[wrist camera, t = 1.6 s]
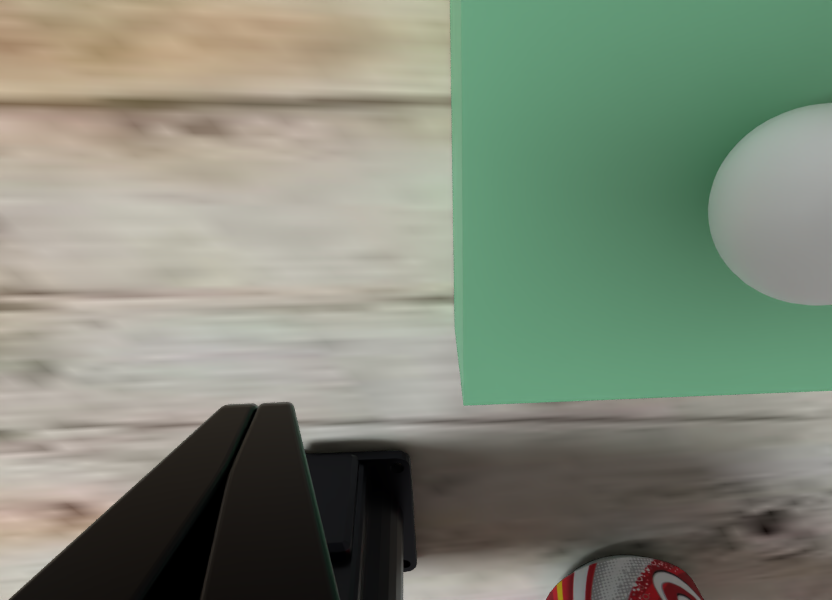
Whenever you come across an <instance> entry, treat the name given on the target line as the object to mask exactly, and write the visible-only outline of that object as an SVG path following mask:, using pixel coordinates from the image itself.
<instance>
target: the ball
mask: <svg viewBox="0 0 832 600" xmlns="http://www.w3.org/2000/svg"><path fill="white" fill-rule="evenodd" d="M708 220H709V227H710V233H711V236H712V239H713V242H714V244H715V247H716V249H717V251H718V253H719V255H720V256H721V258H722V259H723V261H724V262H725V264H726V265H727V266H728V267H729V269H730V270H731V271H732V272H733V273H734V274H735V275H736V276H738V277H739V278H740V279H741V280H742V281H743V282H744V283H746V284H747V285H749V286H750V287H752V288H754V289H755V290H757V291H759V292H760V293H762V294H765V295H767V296H769V297H772V298H775V299H778V300H781V301H785V302H789V303H795V304H802V305H815V306H821V305H832V103H824V104H815V105H808V106H804V107H800V108H796V109H793V110H790V111H787V112H785V113H782V114H780V115H778V116H776V117H773V118H771V119H769V120H767V121H766V122H764V123H762V124H761V125H759V126H757V127H756V128H755V129H753V130H752V131H751V132H749V133H748V134H747V135H746V136H745V137H744V138H742V139H741V140H740V141H739V142H738V143H737V144H736V145H735V147H734V148H733V149H732V150H731V151H730V152H729V154H728V155H727V157H726V158H725V159H724V161H723V162H722V164H721V166H720V168H719V170H718V172H717V174H716V176H715V179H714V181H713V184H712V188H711V192H710V196H709V203H708Z"/></svg>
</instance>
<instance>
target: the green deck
mask: <svg viewBox="0 0 832 600" xmlns="http://www.w3.org/2000/svg"><path fill="white" fill-rule="evenodd" d="M450 37H451V107H452V177H453V247H454V317H455V335H456V344H457V352H458V361H459V370H460V378H461V387H462V396H463V404H464V406H465V405H490V404H514V403H539V402H563V401H588V400H613V399H637V398H662V397H686V396H711V395H736V394H760V393H785V392H809V391H832V305H821V306H815V305H802V304H795V303H789V302H785V301H781V300H778V299H775V298H772V297H769V296H767V295H765V294H762V293H760V292H759V291H757V290H755V289H754V288H752V287H750V286H749V285H747V284H746V283H744V282H743V281H742V280H741V279H740V278H739V277H738V276H736V275H735V274H734V273H733V272H732V271H731V270H730V269H729V267H728V266H727V265H726V264H725V262H724V261H723V259H722V258H721V256H720V255H719V253H718V251H717V249H716V247H715V244H714V242H713V239H712V236H711V233H710V227H709V220H708V203H709V196H710V192H711V188H712V184H713V181H714V179H715V176H716V174H717V172H718V170H719V168H720V166H721V164H722V162H723V161H724V159H725V158H726V157H727V155H728V154H729V152H730V151H731V150H732V149H733V148H734V147H735V145H736V144H737V143H738V142H739V141H740V140H741V139H742V138H744V137H745V136H746V135H747V134H748V133H749V132H751V131H752V130H753V129H755V128H756V127H757V126H759V125H761V124H762V123H764V122H766V121H767V120H769V119H771V118H773V117H776V116H778V115H780V114H782V113H785V112H787V111H790V110H793V109H796V108H800V107H804V106H808V105H815V104H824V103H832V0H450Z"/></svg>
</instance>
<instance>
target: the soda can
mask: <svg viewBox="0 0 832 600" xmlns="http://www.w3.org/2000/svg"><path fill="white" fill-rule="evenodd" d="M546 600H704V599H703V598H702V596H701V594H700V592H699V591H698V589H697V587H696V585H695V583H694V582H693V580H692V578H691V577H690V576H689V575H688V574H687V573H686V572H684V571H683V570H681V569H680V568H679V567H677V566H674V565H672V564H670V563H668V562H664V561H661V560H657V559H652V558H646V557H640V556H634V555H616V556H609V557H604V558H600V559H597V560H594V561H591V562H589V563H587V564H585V565H583V566H581V567H579V568H578V569H576V570H575V571H574V572H572V573H571V574H570V575H568V576H567V577H565V578H564V579H563V580H562V581H561V582H559V583H558V584H557V585H556V586H555V587H554V588H553V590H552V591H551V592H550V593H549V595H548V597H547V599H546Z"/></svg>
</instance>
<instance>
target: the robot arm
mask: <svg viewBox="0 0 832 600" xmlns="http://www.w3.org/2000/svg"><path fill="white" fill-rule="evenodd" d="M395 463H400V464H401V465H394V464H395ZM416 564H417V555H416V539H415V524H414V508H413V492H412V477H411V461H410V457H409V455H408V454H407V453H405V452H403V451H372V452H347V453H322V454H305V451H304V447H303V442H302V438H301V434H300V430H299V426H298V421H297V417H296V413H295V409H294V406H293V404H292V403H290V402H277V403H263V404H261V405H260V406H257V405H255V404H229V405H225V406H223V407H221V408H220V409H219V410H218V411H216V412H215V413H214V414H213V415H212V416H211V417H210V418H209V419H208V420H207V421H205V422H204V423H203V424H202V425H201V426H200V427H199V428H198V429H197V430H195V431H194V432H193V433H192V434H191V435H190V436H189V437H188V438H187V439H186V440H184V441H183V442H182V443H181V444H180V445H179V446H178V447H177V448H176V449H174V450H173V451H172V452H171V453H170V454H169V455H168V456H167V457H166V458H165V459H163V460H162V461H161V462H160V463H159V464H158V465H157V466H156V467H155V468H153V469H152V470H151V471H150V472H149V473H148V474H147V475H146V476H145V477H144V478H142V479H141V480H140V481H139V482H138V483H137V484H136V485H135V486H134V487H132V488H131V489H130V490H129V491H128V492H127V493H126V494H125V495H124V496H123V497H121V498H120V499H119V500H118V501H117V502H116V503H115V504H114V505H113V506H111V507H110V508H109V509H108V510H107V511H106V512H105V513H104V514H103V515H102V516H100V517H99V518H98V519H97V520H96V521H95V522H94V523H93V524H92V525H91V526H89V527H88V528H87V529H86V530H85V531H84V532H83V533H82V534H81V535H79V536H78V537H77V538H76V539H75V540H74V541H73V542H72V543H71V544H70V545H68V546H67V547H66V548H65V549H64V550H63V551H62V552H61V553H60V554H58V555H57V556H56V557H55V558H54V559H53V560H52V561H51V562H50V563H49V564H47V565H46V566H45V567H44V568H43V569H42V570H41V571H40V572H39V573H37V574H36V575H35V576H34V577H33V578H32V579H31V580H30V581H29V582H28V583H26V584H25V585H24V586H23V587H22V588H21V589H20V590H19V591H18V592H16V593H15V594H14V595H13V596H12V597H11V598H10V599H9V600H403V572H407V571H411V570H413V569H414V568H415V567H416Z"/></svg>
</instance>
